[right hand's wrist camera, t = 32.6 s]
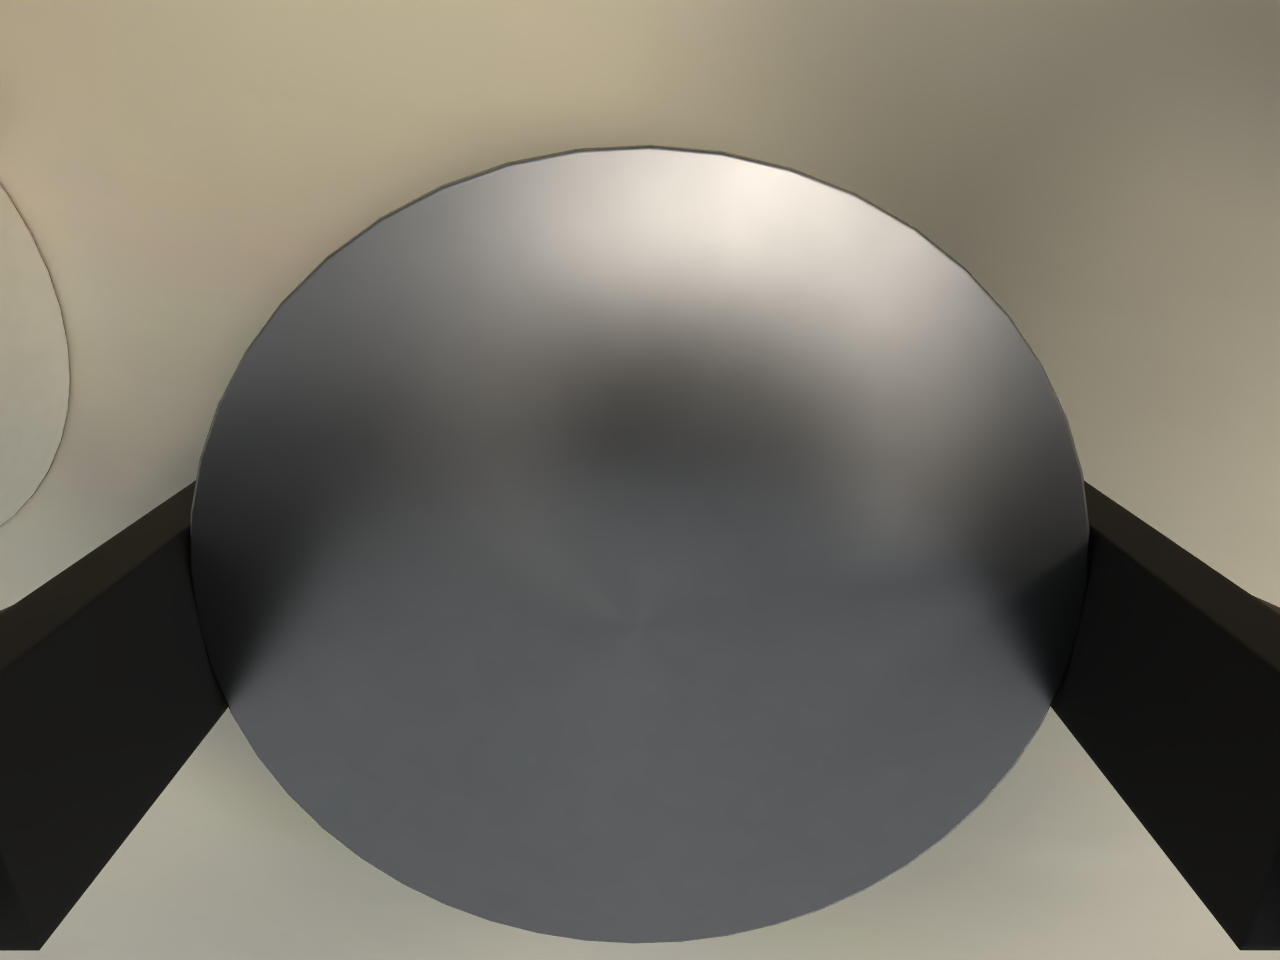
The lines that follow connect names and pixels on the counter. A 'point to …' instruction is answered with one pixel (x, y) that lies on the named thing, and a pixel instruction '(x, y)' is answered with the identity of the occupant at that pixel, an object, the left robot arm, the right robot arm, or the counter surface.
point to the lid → (639, 544)
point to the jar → (28, 364)
